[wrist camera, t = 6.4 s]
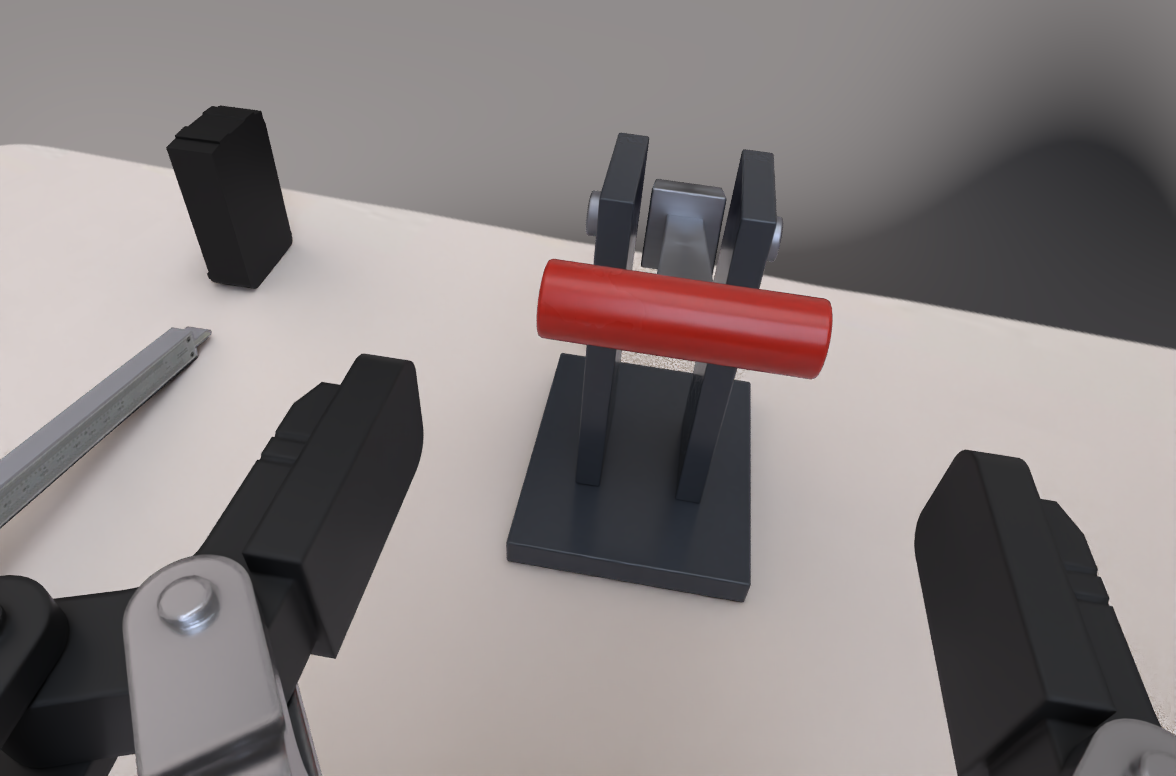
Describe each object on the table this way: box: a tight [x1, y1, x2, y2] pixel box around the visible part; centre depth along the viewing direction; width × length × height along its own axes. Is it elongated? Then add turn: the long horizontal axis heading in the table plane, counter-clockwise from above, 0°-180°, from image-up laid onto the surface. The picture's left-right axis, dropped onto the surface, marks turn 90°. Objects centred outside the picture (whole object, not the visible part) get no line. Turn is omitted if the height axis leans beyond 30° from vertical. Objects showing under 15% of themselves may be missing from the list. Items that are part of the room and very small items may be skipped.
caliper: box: [0, 327, 212, 528], centre depth 27 cm, size 20×1×6 cm, turn 172°
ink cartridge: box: [166, 106, 292, 288], centre depth 38 cm, size 5×2×8 cm, turn 171°
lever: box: [537, 179, 832, 379], centre depth 19 cm, size 13×5×2 cm, turn 171°
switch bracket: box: [506, 133, 783, 602], centre depth 27 cm, size 11×9×14 cm
